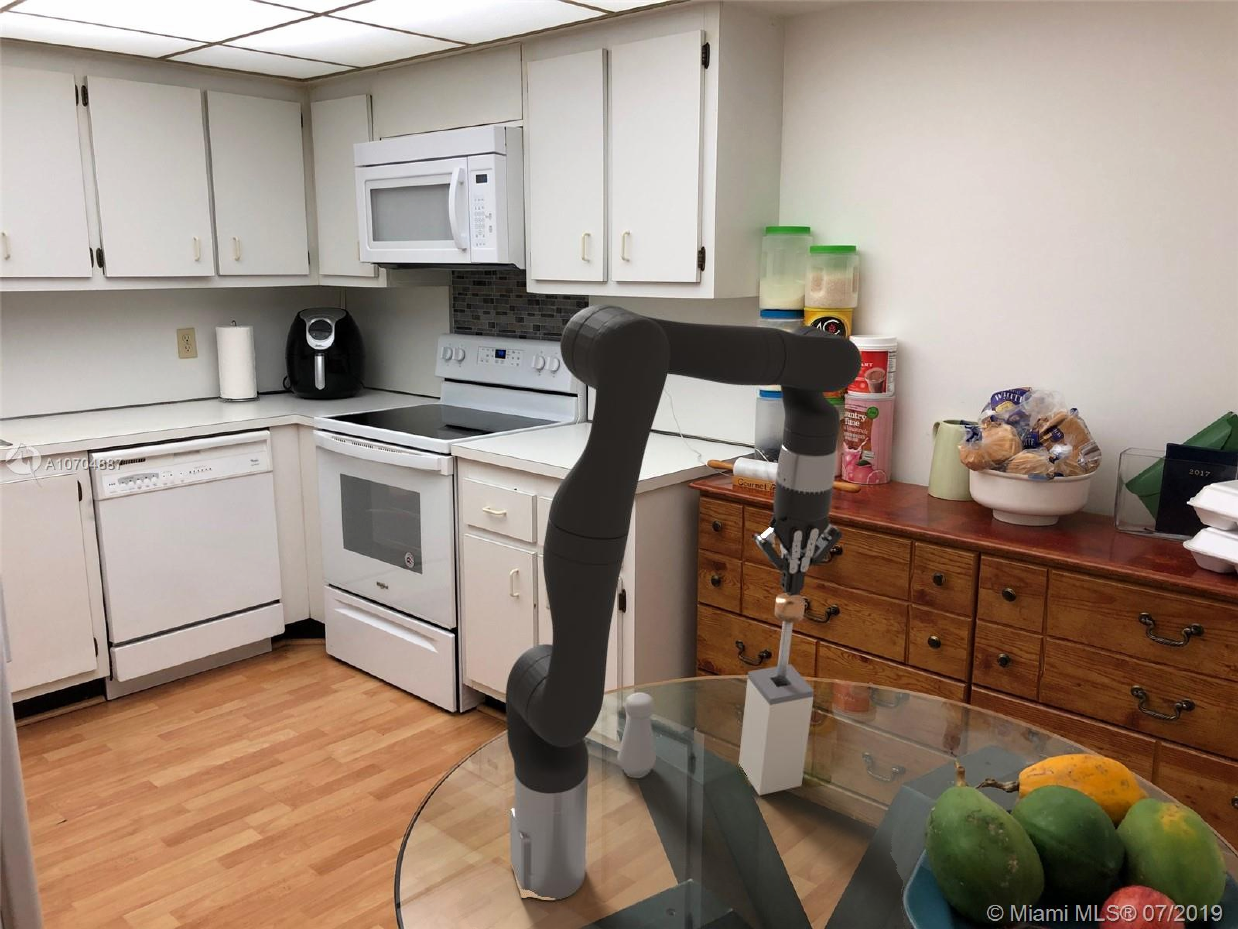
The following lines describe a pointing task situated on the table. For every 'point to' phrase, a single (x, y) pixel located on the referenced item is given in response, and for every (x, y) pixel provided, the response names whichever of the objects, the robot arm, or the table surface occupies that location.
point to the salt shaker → (637, 736)
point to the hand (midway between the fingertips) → (791, 592)
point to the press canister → (775, 730)
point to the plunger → (787, 629)
